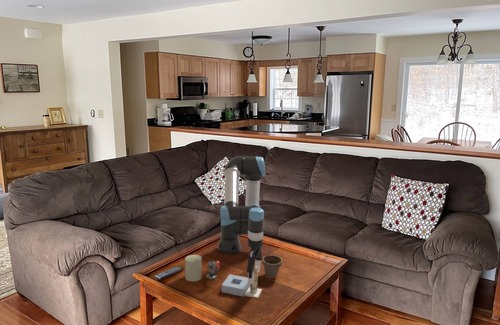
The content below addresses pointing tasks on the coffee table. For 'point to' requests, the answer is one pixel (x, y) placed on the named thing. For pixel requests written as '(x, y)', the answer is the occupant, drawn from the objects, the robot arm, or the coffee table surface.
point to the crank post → (211, 274)
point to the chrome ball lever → (214, 265)
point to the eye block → (235, 285)
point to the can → (193, 267)
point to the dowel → (254, 281)
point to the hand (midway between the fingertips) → (254, 277)
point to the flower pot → (271, 265)
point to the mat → (253, 294)
